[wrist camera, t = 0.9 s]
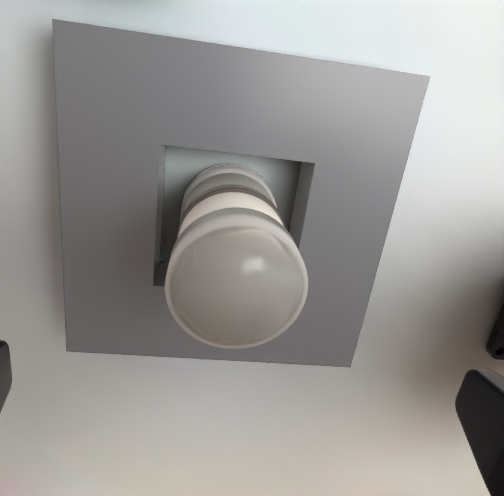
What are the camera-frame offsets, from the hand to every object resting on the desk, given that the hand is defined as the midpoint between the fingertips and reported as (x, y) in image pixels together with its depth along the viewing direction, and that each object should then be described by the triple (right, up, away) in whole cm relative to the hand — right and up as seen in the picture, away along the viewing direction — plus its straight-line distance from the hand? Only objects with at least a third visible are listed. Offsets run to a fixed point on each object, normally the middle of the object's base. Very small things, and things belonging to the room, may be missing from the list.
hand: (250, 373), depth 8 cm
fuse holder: (-1, +4, +9) cm, 10 cm away
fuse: (-1, +4, +9) cm, 10 cm away
